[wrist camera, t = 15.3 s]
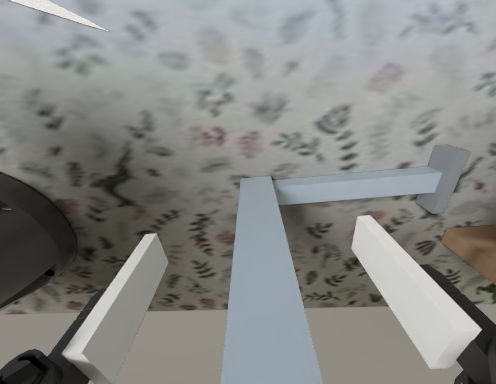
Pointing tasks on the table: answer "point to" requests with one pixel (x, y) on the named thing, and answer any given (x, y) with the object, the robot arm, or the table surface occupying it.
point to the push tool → (282, 270)
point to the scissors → (55, 11)
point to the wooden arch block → (474, 247)
